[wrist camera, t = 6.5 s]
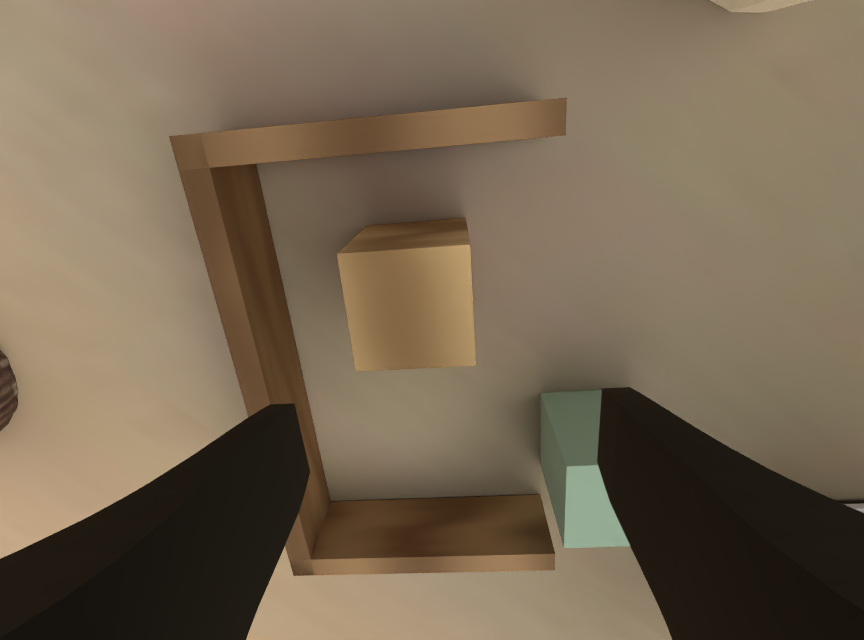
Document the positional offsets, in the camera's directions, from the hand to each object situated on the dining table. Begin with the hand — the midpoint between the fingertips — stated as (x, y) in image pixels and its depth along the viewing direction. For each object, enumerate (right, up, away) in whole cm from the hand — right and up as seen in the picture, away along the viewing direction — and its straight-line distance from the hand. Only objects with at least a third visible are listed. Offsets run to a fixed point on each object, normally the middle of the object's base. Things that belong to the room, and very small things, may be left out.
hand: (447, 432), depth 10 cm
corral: (-1, +1, +9) cm, 10 cm away
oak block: (-1, +5, +8) cm, 9 cm away
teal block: (+7, -2, +11) cm, 13 cm away
